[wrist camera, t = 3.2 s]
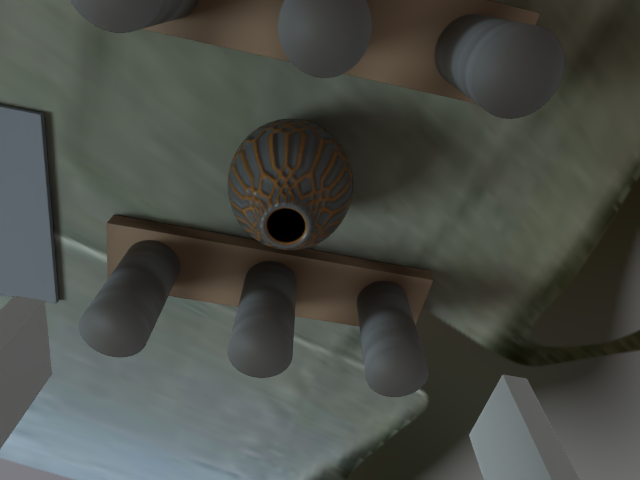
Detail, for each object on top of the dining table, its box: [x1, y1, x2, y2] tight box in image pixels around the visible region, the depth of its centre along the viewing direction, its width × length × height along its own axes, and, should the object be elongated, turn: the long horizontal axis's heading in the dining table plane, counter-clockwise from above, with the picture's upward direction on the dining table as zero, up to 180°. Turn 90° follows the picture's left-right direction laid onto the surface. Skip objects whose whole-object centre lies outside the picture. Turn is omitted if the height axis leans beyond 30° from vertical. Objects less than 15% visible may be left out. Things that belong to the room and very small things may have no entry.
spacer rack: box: [70, 0, 565, 397], centre depth 25 cm, size 22×22×8 cm
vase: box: [228, 119, 353, 250], centre depth 25 cm, size 7×7×9 cm
